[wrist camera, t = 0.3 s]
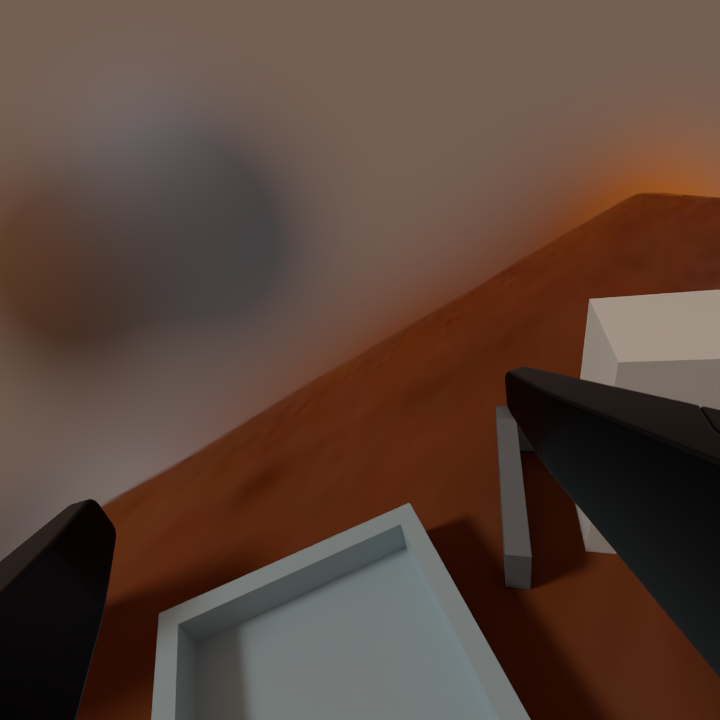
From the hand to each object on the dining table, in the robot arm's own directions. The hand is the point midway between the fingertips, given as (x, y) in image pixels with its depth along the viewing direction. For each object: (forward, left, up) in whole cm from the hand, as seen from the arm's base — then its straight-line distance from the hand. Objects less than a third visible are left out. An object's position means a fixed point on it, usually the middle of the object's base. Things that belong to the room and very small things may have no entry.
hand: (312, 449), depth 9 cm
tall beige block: (+4, -15, -17) cm, 23 cm away
